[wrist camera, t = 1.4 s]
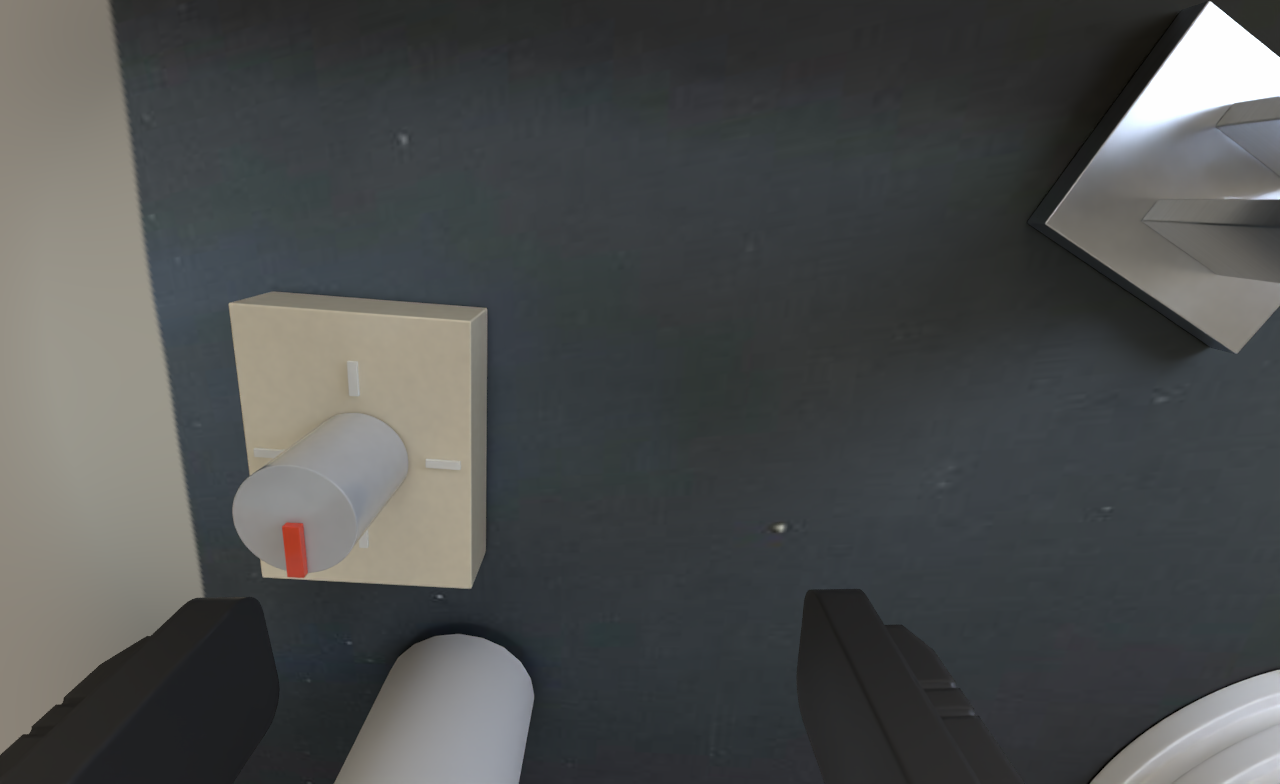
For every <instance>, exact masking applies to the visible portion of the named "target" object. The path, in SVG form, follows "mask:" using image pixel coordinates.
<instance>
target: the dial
mask: <svg viewBox="0 0 1280 784" xmlns="http://www.w3.org/2000/svg"><path fill="white" fill-rule="evenodd" d="M407 472H408V455H407V451H406V449H405V446H404V444H403V442H402V440H401V439H400V437H399V436H398V435H397V433H396V432H395V431H394V430H393V429H392V428H391V427H390V426H388V425H387V424H386V423H384V422H383V421H381V420H379V419H377V418H375V417H372V416H370V415H366V414H361V413H342V414H338V415H335V416H332V417H330V418H328V419H326V420H325V421H323V422H322V423H321V424H319V425H318V426H317V427H315V428H314V429H312V430H311V431H310V432H308V433H307V434H306V435H304V436H303V437H302V438H300V439H299V440H298V441H296V442H295V443H294V444H292V445H291V446H289V447H288V448H287V449H285V450H284V451H283V452H281V453H280V454H279V455H277V456H276V457H275V458H273V459H272V460H271V461H269V462H268V463H267V464H265V465H264V466H262V467H261V468H260V469H258V470H257V471H256V472H254V473H253V474H252V475H250V476H249V477H248V478H247V479H246V480H245V481H244V482H243V483H242V484H241V486H240V487H239V489H238V490H237V493H236V495H235V498H234V502H233V509H232V512H233V520H234V525H235V528H236V530H237V533H238V534H239V536H240V538H241V540H242V541H243V543H244V544H245V545H246V546H247V548H248V549H249V550H250V551H251V552H252V553H253V554H255V555H256V556H257V557H258V558H260V559H261V560H262V561H264V562H266V563H268V564H269V565H272V566H274V567H276V568H279V569H282V570H285V571H287V577H294V578H304V577H305V576H306V575H307V574H308V573H313V572H319V571H323V570H326V569H328V568H331V567H333V566H335V565H337V564H338V563H339V562H341V561H342V560H343V559H344V558H345V557H346V556H347V555H348V554H349V553H350V551H351V550H352V549H353V548H354V546H355V545H356V544H357V542H358V541H359V540H360V539H361V537H362V536H363V535H364V533H365V532H366V531H367V530H368V528H369V527H370V526H371V524H372V523H373V522H374V521H375V519H376V518H377V517H378V515H379V514H380V513H381V512H382V510H383V509H384V508H385V506H386V505H387V504H388V503H389V501H390V500H391V499H392V497H393V496H394V495H395V494H396V492H397V491H398V490H399V488H400V487H401V486H402V484H403V483H404V481H405V479H406V476H407Z"/></svg>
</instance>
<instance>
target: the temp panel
mask: <svg viewBox="0 0 1280 784" xmlns="http://www.w3.org/2000/svg"><path fill="white" fill-rule="evenodd" d="M229 312H230V320H231V328H232V336H233V344H234V352H235V360H236V368H237V376H238V384H239V393H240V401H241V409H242V417H243V425H244V433H245V441H246V449H247V457H248V465H249V473H250V475H252V474H253V473H254V472H256V471H257V470H258V469H260V468H261V467H262V466H264V465H265V464H267V463H268V462H269V461H271V460H272V459H273V458H275V457H276V456H277V455H279V454H280V453H281V452H283V451H284V450H285V449H287V448H288V447H289V446H291V445H292V444H294V443H295V442H296V441H298V440H299V439H300V438H302V437H303V436H304V435H306V434H307V433H308V432H310V431H311V430H312V429H314V428H315V427H317V426H318V425H319V424H321V423H322V422H323V421H325V420H326V419H328V418H330V417H332V416H335V415H338V414H342V413H361V414H366V415H370V416H372V417H375V418H377V419H379V420H381V421H383V422H384V423H386V424H387V425H388V426H390V427H391V428H392V429H393V430H394V431H395V432H396V433H397V435H398V436H399V437H400V439H401V440H402V442H403V444H404V446H405V449H406V451H407V455H408V472H407V476H406V479H405V481H404V483H403V484H402V486H401V487H400V488H399V490H398V491H397V492H396V494H395V495H394V496H393V497H392V499H391V500H390V501H389V503H388V504H387V505H386V506H385V508H384V509H383V510H382V512H381V513H380V514H379V515H378V517H377V518H376V519H375V521H374V522H373V523H372V524H371V526H370V527H369V528H368V530H367V531H366V532H365V533H364V535H363V536H362V537H361V539H360V540H359V541H358V542H357V544H356V545H355V546H354V548H353V549H352V550H351V551H350V553H349V554H348V555H347V556H346V557H345V558H344V559H343V560H342V561H341V562H339V563H338V564H337V565H335V566H333V567H331V568H328V569H326V570H323V571H319V572H313V573H308V574H307V575H306V576H305V577H304V578H294V577H287V571H285V570H282V569H279V568H276V567H274V566H272V565H269V564H268V563H266V562H264V561H262V560H261V559H260V561H261V570H262V577H264V578H282V579H300V580H318V581H336V582H354V583H372V584H391V585H409V586H427V587H445V588H463V589H471V588H472V585H473V583H474V580H475V578H476V575H477V573H478V570H479V568H480V565H481V563H482V560H483V557H484V555H485V552H486V452H487V308H481V307H468V306H455V305H442V304H429V303H416V302H403V301H390V300H377V299H364V298H351V297H338V296H325V295H312V294H299V293H286V292H269V293H265V294H262V295H258V296H254V297H250V298H246V299H243V300H239V301H235V302H231V303H229Z"/></svg>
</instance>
